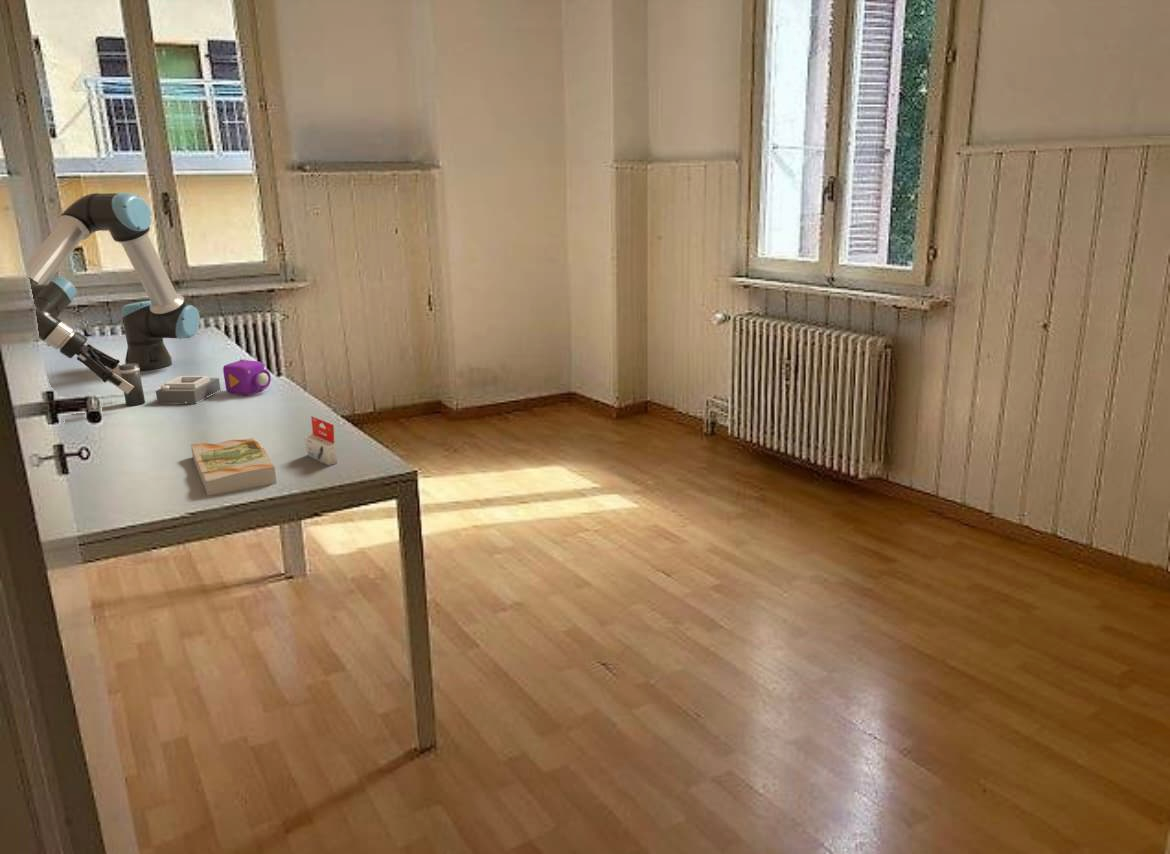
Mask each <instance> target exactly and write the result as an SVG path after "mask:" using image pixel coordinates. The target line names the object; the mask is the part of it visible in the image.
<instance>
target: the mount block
mask: <svg viewBox="0 0 1170 854" xmlns="http://www.w3.org/2000/svg"><path fill="white" fill-rule="evenodd" d="M219 390H220V391H221V383H220V378H219V377H217V378H216V377H211V376H210V375H179V376H177V377H175V378H174V379H171V380H169V381H167V382H164V385H161V386H160V388H159V389H157V390H155V395H156V402H157V404H158V403H185V402H187V403H196V402H198V401H200V400H202V399H204V398H206V397H207V396H209V395H211V394H213V393H215V392H217V391H218V392H220V391H219ZM218 392H217V393H218ZM215 394H216V393H215ZM213 395H214V394H213ZM211 396H212V395H211ZM209 397H210V396H209ZM206 399H207V398H206ZM204 400H205V399H204ZM202 401H203V400H202ZM200 402H201V401H200Z"/></svg>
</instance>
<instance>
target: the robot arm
mask: <svg viewBox="0 0 1170 854" xmlns="http://www.w3.org/2000/svg"><path fill="white" fill-rule="evenodd" d="M151 211H152V210H151V208H150V206H149V205H148V203H147V202H146V201H145V199H143V198H142V197H141V196H139V195H138V194H135V193H127V192H118V193H117V192H116V193H115V192H114V193H109V192H107V193H99V192H97V193H95V192H94V193H90V194H86V195H84V196H82V197H79V198H78V199H77V200H76V201H74V202H73V203H71V205H69V206H68V207H67V208H66V209H65V210H64V211H62V214H60V216H59V217H58V219H57V226H56V227H55V228H54V229H53V230H52V231H51V233H50V234H49V235H48V237H47V238H46V239H45V240H44V242H43V243H42V244H41V245H40V247H39V248H38V249H37V250H36V251H35V253H34V254H33V255H32V256H31V258H30V259H29V260H28V261H27V263H26V264H27V268H28V274H29V279H30V284H31V289H32V294H33V299H34V304H35V310H36V316H37V323H38V331H39V338H38V339H40V340H42V341H43V342H44V343H46V346H47V347H50V346H51V347H52V348H54V349H55V350H58V349H59V353H60V354H62V355H64V356H65V357H67V358H69V359H73V357H74V356H75V355H76V356H77V357H76V360H77V361H79V362H81V364H83V365H84V366H86V367H87V368H88V369H89V370H91V372H93V374H95V375H96V377H97V376H98V377H99V378H100V379H101V380H102V382H104V383H106V382H107V381H108V382H109V383H110V384H112V385H113V386H115V387H117V388H118V389H119V390H120V391H122V392H123V393H124V392H125V393H127V394H128V393H129V392H130V391H131V390H132V389H133V388H134V386H133V385H131V384H130V383H128V382H127V381H125V380H124V379H122V378H121V374H120V368H119V366H120V365H121V364H120V362H121V360H120V359H116V358H114V357H113V356H110V355H108V354H107V353H105V352H103V351H102V350H99V349H97V348H96V347H94V346H92V345H91V344H88V343H87V341H88V338H87V337H86V336H84V335H83V334H82V333H80V332H77V331H75V329H74V328H73V327H71V326H70V325H69V324H67V323H65V322H64V321H62V320H61V319H60V318H59V315H60V314H61V313H62V312H63V311H64V310H65V309H66V308H67V307H68V306H69V305H70V304H72V302H73V300H74V299H75V298H76V296H77V294H78V291H77V288H76V287H75V286H74V284H73V283H72V282H71V281H70V280H68V279H66V278H64V277H58V276H56V277H55V275H56V274H57V273H58V271H59V270H60V269H61V267H62V266H63V265H64V263H65V262H66V261H67V259H69V257H70V255H71V254H72V253H73V252H74V250H75V249H76V248H77V246H79V244H80V243H81V241H84V240H87V239H88V238H89V237H90V236H91V235H92V234H93V233H96V232H99V231H101V232H103V231H105V232H106V231H108V232H109V234H110V235H111V237H112V239H113V240H114V241H113V242H117V243H119V244H121V246H122V247H123V249H124V252H125V254H126V256H127V258H128V259H129V261H130V263H131V265H132V267H133V269H134V271H135V273H136V275H137V277H138V279H139V281H140V283H141V285H142V287H143V289H144V290H145V293H146V295H147V296H148V298H149V300H145V301H144V300H143V301H138V302H133V303H128V304H125V305H123V306H122V307H121V319H122V324H123V328H124V333H125V339H126V344H127V345H126V346H127V351H126V354H125V360H124V364H131V363H136V364H138V365H139V369H140V371H149V370H150V371H151V370H156V369H161V368H163V369H164V368H166V367H169V366H172V364H173V361H172V356H171V354H170V353H169V351H168V349H167V347H166V345H165V344H164V339H179V340H182V339H183V340H184V339H191V338H192V337H194V336H195V335H196V334H197V332H198V330H199V328H200V323H201V317H200V313H199V310H198V309H197V307H196V306H194V305H191V304H187V302H186V300H185V298H184V296H183V295H181V294H178V293H177V292H176V290H175V287H174V286H173V283H172V282H171V280H170V278H169V276H168V274H167V271H166V269H165V267H164V265H163V263H162V261H161V259H160V257H159V255H158V253H157V251H156V249H155V247H154V245H153V242H152V240H151V238H150V237H149V233H150V231H151V228H150V227H151V224H152V220H153V219H152V218H151V216H152V212H151ZM86 343H87V345H86ZM108 368H109V369H111V370H112V372H111V370H109V369H108Z"/></svg>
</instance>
